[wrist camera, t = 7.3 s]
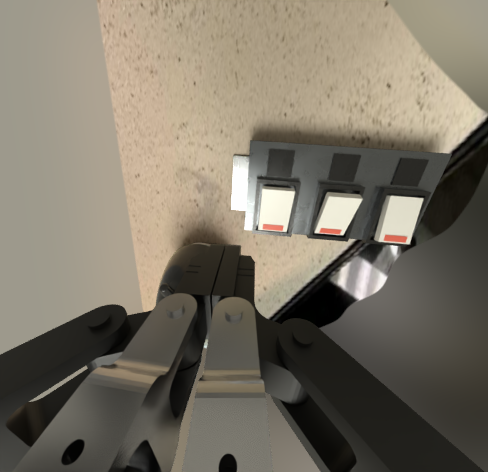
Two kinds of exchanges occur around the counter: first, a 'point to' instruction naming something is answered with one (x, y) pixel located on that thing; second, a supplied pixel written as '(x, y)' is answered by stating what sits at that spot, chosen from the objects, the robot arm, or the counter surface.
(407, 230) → the rocker
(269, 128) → the counter surface
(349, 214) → the middle rocker
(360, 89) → the counter surface
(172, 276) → the pump dispenser
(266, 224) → the rocker
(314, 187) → the rocker switch box
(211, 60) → the counter surface
